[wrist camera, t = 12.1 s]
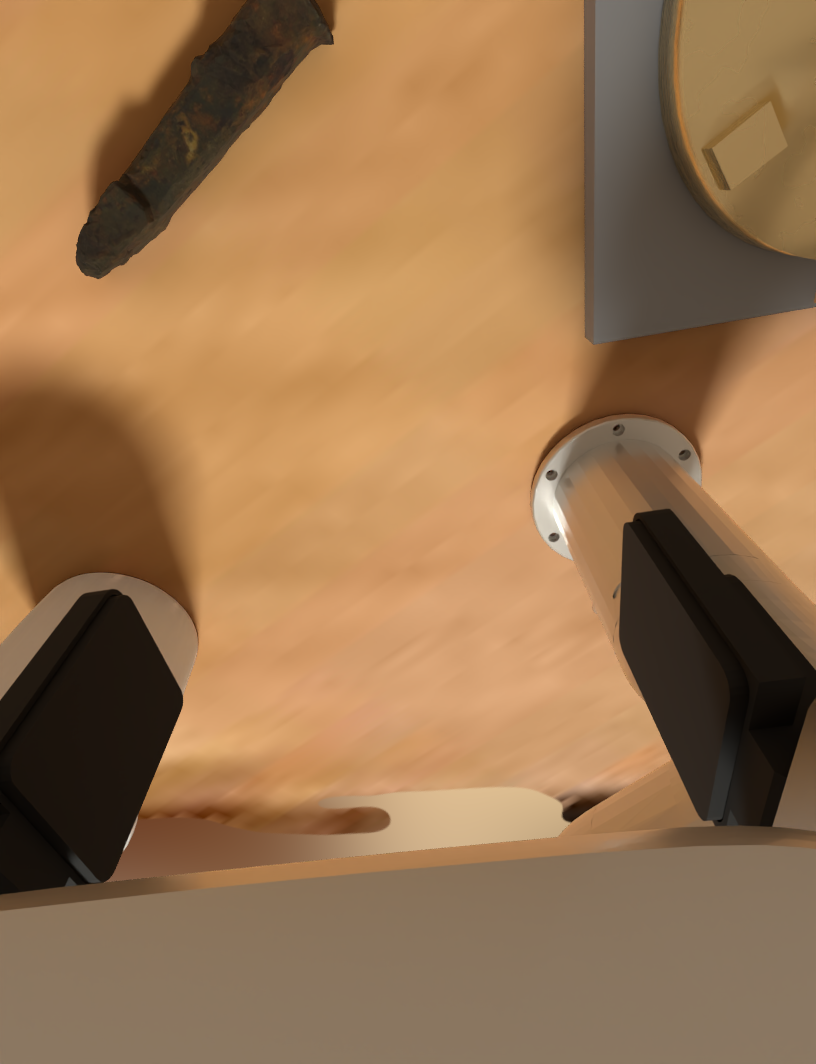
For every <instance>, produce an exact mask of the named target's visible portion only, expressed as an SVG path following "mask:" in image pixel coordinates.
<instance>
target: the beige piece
mask: <svg viewBox="0 0 816 1064" xmlns="http://www.w3.org/2000/svg"><path fill="white" fill-rule="evenodd" d="M658 89H659V97H660V106H661V114H662V121H663V125H664V129H665V133H666V138H667V142H668V146H669V149H670V152H671V155H672V157H673V160H674V162H675V165H676V167H677V170H678V172H679V175H680V176H681V178H682V180H683V182H684V183H685V185H686V187H687V188H688V190H689V192H690V194H691V195H692V197H693V198H694V199H695V201H696V202H697V203H698V204H699V205H700V207H701V208H702V209H703V210H704V212H705V213H706V214H707V215H708V216H709V217H710V218H711V219H712V220H714V221H715V222H716V223H717V224H718V225H719V226H721V227H722V228H723V229H724V230H725V231H727V232H729V233H730V234H732V235H734V236H735V237H737V238H739V239H741V240H742V241H744V242H746V243H749V244H751V245H754V246H757V247H759V248H762V249H765V250H768V251H773V252H778V253H783V254H788V255H793V256H798V257H803V258H809V259H814V260H816V0H665V1H664V6H663V11H662V19H661V29H660V39H659V48H658Z"/></svg>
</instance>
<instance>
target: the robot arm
mask: <svg viewBox="0 0 816 1064" xmlns="http://www.w3.org/2000/svg"><path fill="white" fill-rule="evenodd" d="M616 425H618V426H617V427H616V428H614V427H615V426H616ZM550 470H552V471H551V472H549V473H547V472H548V471H550ZM701 486H702V469H701V464H700V460H699V457H698V455H697V453H696V451H695V449H694V447H693V445H692V444H691V443H690V442H689V441H688V439H687V438H686V437H685V436H684V435H683V434H682V433H681V432H679V431H678V430H677V429H676V428H675V427H673V426H672V425H670V424H668V423H666V422H664V421H662V420H661V419H658V418H654V417H650V416H647V415H640V414H621V415H612V416H608V417H604V418H601V419H597V420H594V421H592V422H590V423H588V424H585V425H583V426H581V427H579V428H577V429H576V430H574V431H573V432H571V433H570V434H569V435H567V436H566V437H564V438H563V439H562V440H561V441H560V442H559V443H558V444H557V445H556V446H555V447H554V448H553V449H552V450H551V451H550V452H549V453H548V455H547V456H546V458H545V459H544V460H543V462H542V463H541V465H540V467H539V469H538V471H537V473H536V475H535V478H534V481H533V485H532V489H531V500H530V506H531V512H532V517H533V520H534V522H535V525H536V528H537V530H538V532H539V534H540V535H541V537H542V539H543V540H544V541H545V542H546V543H547V544H548V546H549V547H550V548H551V549H552V550H554V551H555V552H557V553H558V554H560V555H561V556H563V557H565V558H567V559H570V560H572V561H574V563H575V565H576V567H577V569H578V572H579V574H580V576H581V578H582V581H583V583H584V585H585V587H586V589H587V592H588V594H589V596H590V598H591V601H592V609H593V611H594V612H595V613H596V614H597V615H598V616H599V619H600V621H601V623H602V625H603V628H604V630H605V632H606V634H607V636H608V639H609V641H610V643H611V645H612V648H613V650H614V652H615V654H616V657H617V659H618V661H619V663H620V666H621V668H622V670H623V672H624V674H625V676H626V678H627V680H628V681H629V683H630V685H631V686H632V687H633V689H634V690H635V691H636V693H637V694H638V695H639V696H640V697H641V698H642V699H643V700H644V701H645V702H646V704H647V706H648V709H649V711H650V713H651V715H652V717H653V719H654V721H655V724H656V726H657V728H658V730H659V732H660V734H661V737H662V739H663V741H664V743H665V745H666V747H667V750H668V752H669V754H670V756H671V758H672V759H671V761H669V762H667V763H666V764H664V765H662V766H661V767H659V768H657V769H656V770H654V771H652V772H651V773H649V774H647V775H646V776H644V777H642V778H641V779H639V780H637V781H636V782H634V783H632V784H631V785H629V786H627V787H626V788H624V789H622V790H621V791H619V792H618V793H616V794H614V795H613V796H611V797H609V798H608V799H606V800H604V801H603V802H601V803H599V804H598V805H596V806H595V807H593V808H591V809H590V810H588V811H587V812H585V813H584V814H582V815H581V816H580V817H578V818H577V819H575V820H574V821H573V822H572V823H571V824H570V825H568V827H566V828H565V829H564V830H563V831H562V833H561V834H560V835H559V836H558V837H553V838H543V839H534V840H522V841H512V842H501V843H491V844H481V845H470V846H459V847H450V848H438V849H428V850H417V851H408V852H396V853H386V854H377V855H366V856H356V857H347V858H336V859H326V860H316V861H306V862H297V863H287V864H278V865H267V866H257V867H247V868H238V869H228V870H218V871H209V872H199V873H190V874H180V875H171V876H161V877H153V878H143V879H133V880H124V881H115V882H105V881H107V880H108V879H109V878H110V877H111V876H112V875H113V873H114V871H115V869H116V866H117V864H118V862H119V859H120V857H121V854H122V852H123V850H124V847H125V845H126V842H127V840H128V837H129V835H130V833H131V830H132V828H133V825H134V823H135V821H136V818H137V816H138V813H139V811H140V809H141V806H142V804H143V801H144V799H145V796H146V794H147V792H148V789H149V787H150V784H151V782H152V780H153V777H154V775H155V772H156V770H157V768H158V765H159V763H160V760H161V758H162V755H163V753H164V751H165V748H166V746H167V743H168V741H169V739H170V736H171V734H172V731H173V729H174V726H175V724H176V722H177V719H178V717H179V714H180V712H181V709H182V706H183V695H182V691H181V688H180V687H179V685H178V683H177V681H176V679H175V677H174V676H173V674H172V672H171V670H170V668H169V666H168V665H167V663H166V661H165V659H164V657H163V655H162V654H161V652H160V650H159V648H158V646H157V644H156V643H155V641H154V639H153V637H152V635H151V633H150V632H149V630H148V628H147V626H146V624H145V622H144V621H143V619H142V617H141V615H140V613H139V611H138V610H137V608H136V606H135V604H134V602H133V600H132V599H131V598H130V597H129V596H128V595H123V594H122V593H121V592H120V591H119V590H117V589H109V590H102V591H95V592H88V593H84V594H82V595H81V596H80V597H79V598H78V600H77V601H76V602H75V603H74V605H73V606H72V607H71V609H70V610H69V611H68V613H67V614H66V615H65V616H64V618H63V619H62V620H61V622H60V623H59V624H58V626H57V627H56V628H55V629H54V631H53V632H52V633H51V635H50V636H49V637H48V639H47V640H46V641H45V642H44V644H43V645H42V646H41V648H40V649H39V650H38V652H37V653H36V654H35V655H34V657H33V658H32V659H31V661H30V662H29V663H28V665H27V666H26V667H25V668H24V670H23V671H22V672H21V674H20V675H19V676H18V678H17V679H16V680H15V681H14V683H13V684H12V685H11V687H10V688H9V689H8V691H7V692H6V693H5V694H4V696H3V697H2V698H1V700H0V1064H816V605H815V604H814V603H813V602H812V601H811V600H810V599H809V598H808V597H807V596H806V595H805V594H804V593H803V592H802V591H801V590H800V589H799V588H798V587H797V586H796V585H795V584H794V583H793V582H792V581H791V580H790V579H789V578H788V577H787V576H786V575H785V574H784V573H783V572H782V570H781V569H780V568H779V567H778V566H777V565H776V564H775V563H774V562H773V561H772V560H771V559H770V558H769V557H768V556H767V555H766V554H765V553H764V552H763V551H762V550H761V549H760V548H759V547H758V546H757V545H756V543H755V542H754V541H753V540H752V539H751V538H750V537H749V536H748V535H747V534H746V533H745V532H744V531H743V530H742V529H741V528H740V527H739V526H738V525H737V524H736V523H735V522H734V521H733V520H732V519H731V518H730V517H729V515H728V514H727V513H726V512H725V511H724V510H723V509H722V508H721V507H720V506H719V505H718V504H717V503H716V502H715V501H714V500H713V499H712V498H711V497H710V496H709V495H708V494H707V493H706V492H705V491H704V490H703V488H702V487H701ZM104 882H105V883H104Z"/></svg>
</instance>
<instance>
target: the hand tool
mask: <svg viewBox="0 0 816 1064" xmlns="http://www.w3.org/2000/svg"><path fill="white" fill-rule="evenodd" d="M321 44H324V45H332V44H334V41H333V35H332V34H331V32H330V29H329V27H328V25H327V23H326V20H325V18H324V16H323V14H322V12H321V10H320V8H319V6H318V5H317V3H316V2H315V0H247V1H246V3H245V4H244V5H243V6H242V8H241V9H240V11H239V12H238V14H237V15H236V16H235V17H234V18H233V20H232V22H231V24H230V25H229V26H228V28H227V29H226V31H225V32H224V34H223V35H222V36H221V37H220V38H219V39H217V40H216V41H215V42H214V43H213V44H211V45H210V46H209V49H208V51H207V52H206V53H205V54H204V55H201V56H197V57H195V59H194V60H193V62H192V64H191V77H190V80H189V82H188V84H187V85H186V87H185V88H184V90H183V91H182V92H181V94H180V95H179V97H178V98H177V99H176V101H175V102H174V103H173V105H172V106H171V107H170V109H169V110H168V111H167V113H166V114H165V116H164V117H163V119H162V120H161V122H160V124H159V125H158V127H157V128H156V129H155V131H154V132H153V133H152V135H151V136H150V138H149V139H148V141H147V142H146V144H145V145H144V147H143V148H142V150H141V151H140V152H139V154H138V155H137V157H136V158H135V159H134V161H133V162H132V164H131V165H130V167H129V168H128V169H127V170H126V171H125V173H124V174H123V175H122V177H121V178H120V180H119V181H115V182H112V183H111V184H110V185H109V186H108V188H107V189H106V191H105V192H104V194H103V195H102V196H101V198H100V200H99V203H98V204H97V206H96V207H95V208H94V209H93V210H91V211H90V214H89V217H88V219H87V223H86V224H84V226H83V228H82V230H81V231H80V234H79V237H78V242H77V244H76V246H77V251H76V263H77V265H78V266H79V268H80V270H81V271H82V273H84V274H85V275H86V276H90V277H94V278H97V279H100V278H102V277H104V276H105V275H107V274H108V273H109V272H110V271H111V270H112V269H114V268H115V267H117V266H119V265H124V264H125V263H126V262H127V261H128V260H129V258H130V257H132V256H133V255H134V254H137V253H139V252H140V251H141V250H142V249H143V248H144V247H145V246H146V245H147V244H148V243H149V242H150V241H151V240H153V239H154V238H156V237H157V236H158V235H159V234H160V233H161V232H162V231H164V230H165V229H166V227H167V226H168V224H169V222H170V220H171V217H172V216H173V214H174V213H175V212H176V211H177V209H178V208H179V207H180V206H181V205H182V204H183V203H184V201H185V200H186V199H187V198H188V197H189V196H190V195H191V193H192V192H193V191H194V190H195V189H196V188H197V187H198V186H199V184H200V183H201V182H202V181H203V180H204V179H205V177H206V176H207V175H208V174H209V173H210V172H211V171H212V170H213V168H214V167H215V166H216V165H217V164H218V163H219V162H220V161H221V159H222V158H223V156H224V155H225V154H226V152H227V151H228V149H229V148H230V147H231V145H232V144H233V143H234V142H235V141H236V140H237V139H238V137H239V136H240V135H241V133H242V132H244V131H245V130H246V129H247V128H249V127H250V124H251V123H252V122H253V121H254V120H255V119H256V118H257V117H259V115H260V114H261V113H262V112H263V111H264V110H265V109H266V107H267V106H268V105H269V103H270V102H271V100H272V98H273V97H274V96H275V95H276V93H277V92H278V91H279V90H280V89H281V86H282V84H283V83H284V81H285V80H286V79H287V78H288V77H289V76H290V75H291V73H292V72H293V71H294V70H295V68H296V67H297V66H298V65H299V64H300V63H301V61H302V60H303V59H304V58H305V57H306V56H307V55H308V54H309V52H310V51H311V50H313V49H314V48H316V47H318V46H319V45H321Z"/></svg>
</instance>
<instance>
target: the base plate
mask: <svg viewBox="0 0 816 1064" xmlns="http://www.w3.org/2000/svg"><path fill="white" fill-rule="evenodd" d="M664 1H665V0H584V139H585V338H587V339H588V340H589V341H590V342H591V343H592V344H593V345H594V344H600V343H606V342H612V341H618V340H624V339H630V338H636V337H642V336H647V335H653V334H659V333H665V332H671V331H677V330H683V329H689V328H695V327H701V326H706V325H712V324H718V323H724V322H730V321H736V320H742V319H748V318H754V317H760V316H765V315H771V314H777V313H783V312H789V311H795V310H801V309H807V308H813V307H816V260H814V259H809V258H803V257H798V256H793V255H788V254H783V253H778V252H773V251H768V250H765V249H762V248H759V247H757V246H754V245H751V244H749V243H746V242H744V241H742V240H741V239H739V238H737V237H735V236H734V235H732V234H730V233H729V232H727V231H725V230H724V229H723V228H722V227H721V226H719V225H718V224H717V223H716V222H715V221H714V220H712V219H711V218H710V217H709V216H708V215H707V214H706V213H705V212H704V210H703V209H702V208H701V207H700V205H699V204H698V203H697V202H696V201H695V199H694V198H693V197H692V195H691V194H690V192H689V190H688V188H687V187H686V185H685V183H684V182H683V180H682V178H681V176H680V175H679V172H678V170H677V167H676V165H675V162H674V160H673V157H672V155H671V152H670V149H669V146H668V142H667V138H666V133H665V129H664V125H663V121H662V114H661V106H660V97H659V89H658V48H659V39H660V29H661V19H662V11H663V6H664Z"/></svg>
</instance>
